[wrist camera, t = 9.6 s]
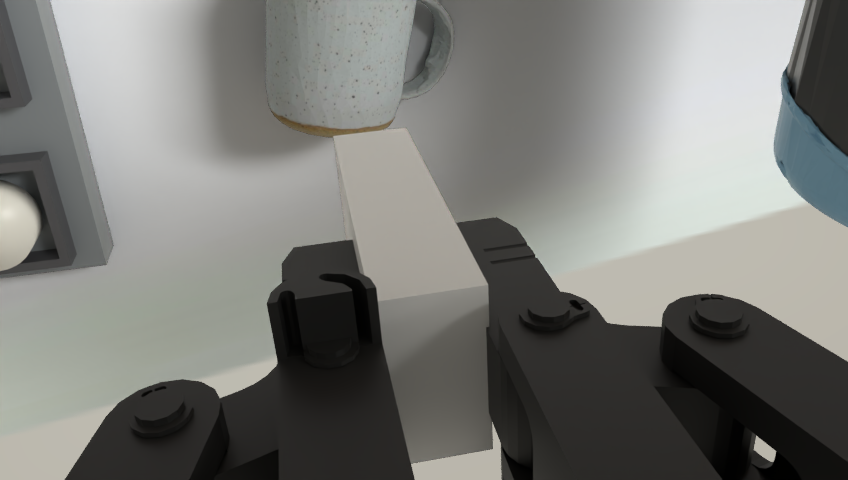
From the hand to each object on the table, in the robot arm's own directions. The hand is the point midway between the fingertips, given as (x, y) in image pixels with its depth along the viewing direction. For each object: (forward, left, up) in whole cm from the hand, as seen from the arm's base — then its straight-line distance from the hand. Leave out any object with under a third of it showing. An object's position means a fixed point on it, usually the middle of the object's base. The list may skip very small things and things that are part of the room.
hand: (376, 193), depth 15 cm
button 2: (+17, +10, -25) cm, 32 cm away
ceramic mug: (-3, +2, -29) cm, 29 cm away
